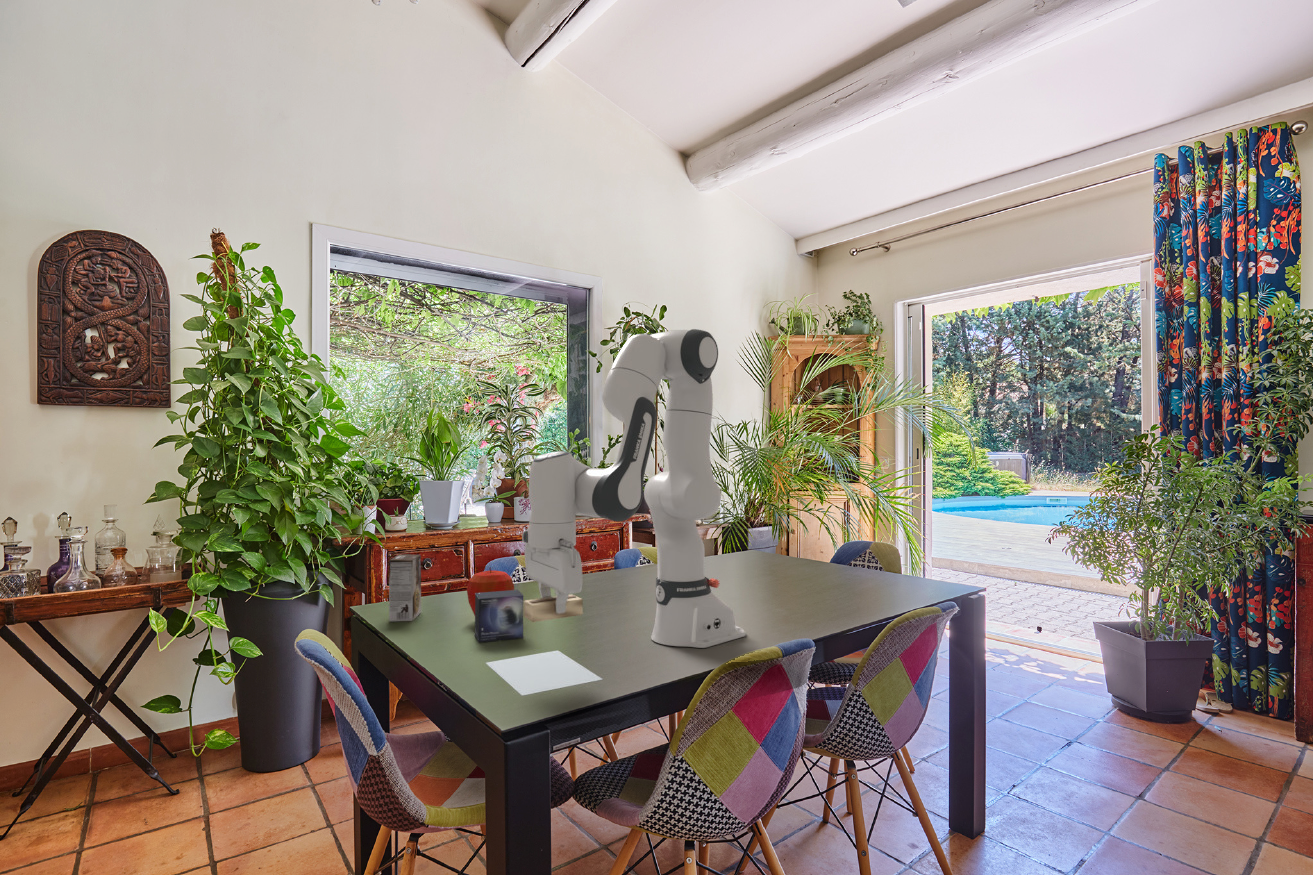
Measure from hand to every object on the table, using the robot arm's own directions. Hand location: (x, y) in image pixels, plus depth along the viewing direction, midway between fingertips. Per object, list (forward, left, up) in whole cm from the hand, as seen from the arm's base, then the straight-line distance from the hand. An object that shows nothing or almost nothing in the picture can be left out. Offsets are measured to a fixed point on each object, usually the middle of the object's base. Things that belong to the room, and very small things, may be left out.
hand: (553, 609), depth 129 cm
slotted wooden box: (0, 0, -1) cm, 1 cm away
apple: (-4, -52, -14) cm, 54 cm away
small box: (-1, -36, -14) cm, 39 cm away
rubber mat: (0, -6, -14) cm, 15 cm away
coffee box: (+14, -69, -14) cm, 72 cm away
